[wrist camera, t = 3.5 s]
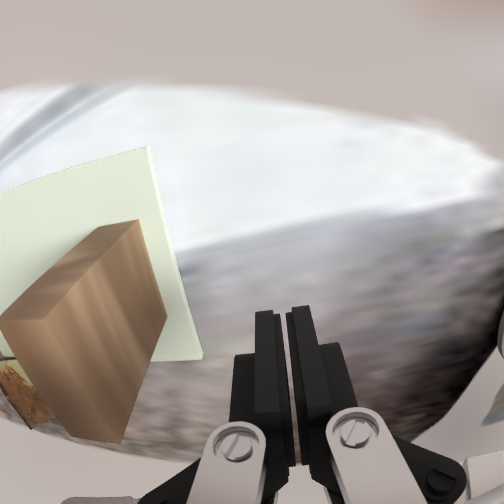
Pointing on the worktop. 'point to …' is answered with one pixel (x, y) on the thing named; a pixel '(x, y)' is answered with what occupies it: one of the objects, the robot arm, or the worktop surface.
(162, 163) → the worktop surface
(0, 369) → the shard
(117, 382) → the walnut slab
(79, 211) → the sage mat
